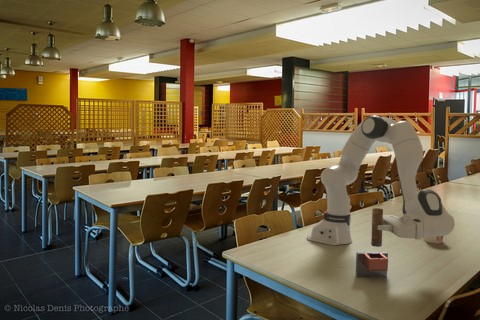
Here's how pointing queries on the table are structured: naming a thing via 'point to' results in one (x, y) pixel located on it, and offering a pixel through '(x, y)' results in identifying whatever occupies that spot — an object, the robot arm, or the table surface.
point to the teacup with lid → (434, 239)
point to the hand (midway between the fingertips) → (374, 225)
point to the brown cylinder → (376, 220)
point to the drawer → (371, 264)
